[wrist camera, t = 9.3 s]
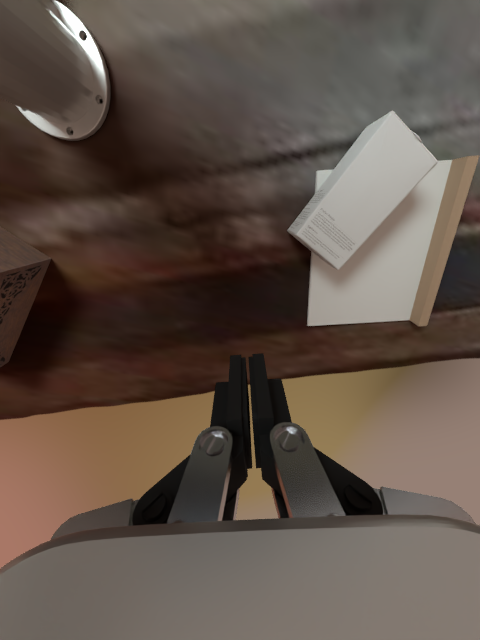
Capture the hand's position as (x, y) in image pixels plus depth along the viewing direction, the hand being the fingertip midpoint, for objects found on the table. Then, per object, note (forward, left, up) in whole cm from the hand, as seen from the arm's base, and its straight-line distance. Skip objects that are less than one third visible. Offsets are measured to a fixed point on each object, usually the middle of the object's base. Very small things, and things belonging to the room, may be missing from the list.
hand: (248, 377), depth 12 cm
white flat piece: (0, +20, -29) cm, 35 cm away
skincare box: (-2, +10, -25) cm, 27 cm away
